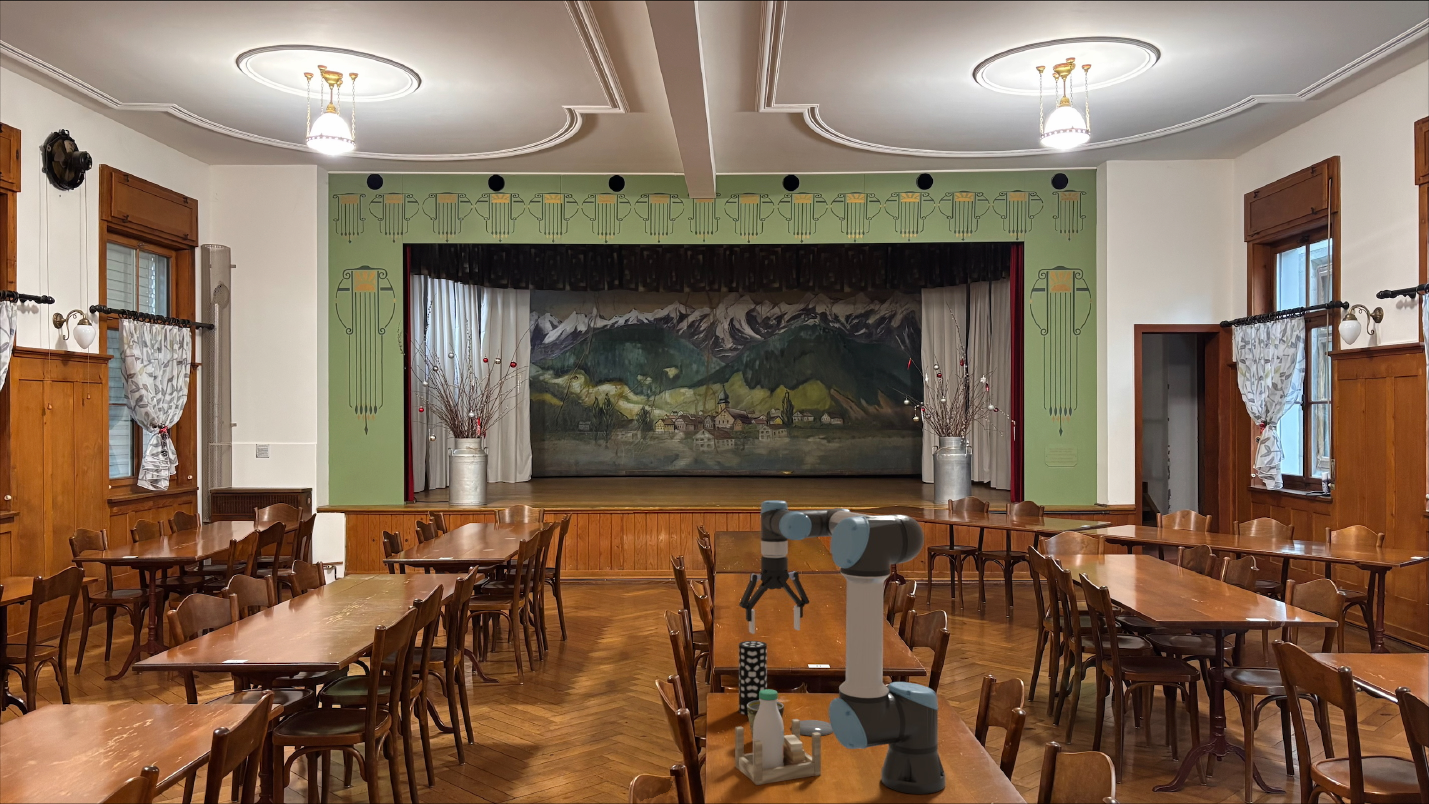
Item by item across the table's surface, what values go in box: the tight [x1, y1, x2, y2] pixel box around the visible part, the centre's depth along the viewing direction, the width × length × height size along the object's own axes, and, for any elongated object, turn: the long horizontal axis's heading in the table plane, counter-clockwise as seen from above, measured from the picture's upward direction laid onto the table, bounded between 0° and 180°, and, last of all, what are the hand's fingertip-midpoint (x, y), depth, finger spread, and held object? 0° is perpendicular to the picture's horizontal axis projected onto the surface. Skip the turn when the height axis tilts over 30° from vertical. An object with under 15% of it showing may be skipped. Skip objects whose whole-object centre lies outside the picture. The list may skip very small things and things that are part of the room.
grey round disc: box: [790, 719, 834, 737], centre depth 270 cm, size 12×12×1 cm
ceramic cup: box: [747, 700, 785, 741], centre depth 258 cm, size 13×10×10 cm
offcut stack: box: [784, 734, 806, 766], centre depth 240 cm, size 8×4×7 cm, turn 22°
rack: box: [734, 718, 822, 786], centre depth 238 cm, size 13×17×10 cm
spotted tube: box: [738, 640, 768, 716], centre depth 286 cm, size 8×8×20 cm
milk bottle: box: [752, 688, 785, 769], centre depth 238 cm, size 8×8×20 cm
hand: (774, 631), depth 270 cm, fingers open, 13 cm apart
